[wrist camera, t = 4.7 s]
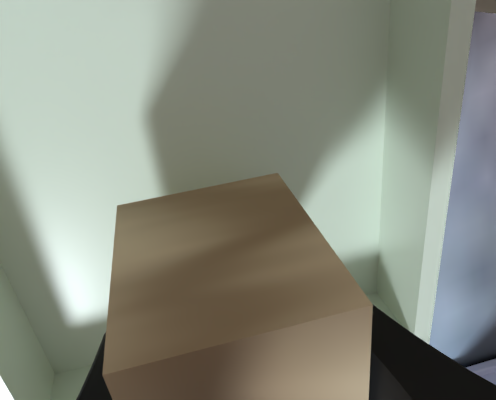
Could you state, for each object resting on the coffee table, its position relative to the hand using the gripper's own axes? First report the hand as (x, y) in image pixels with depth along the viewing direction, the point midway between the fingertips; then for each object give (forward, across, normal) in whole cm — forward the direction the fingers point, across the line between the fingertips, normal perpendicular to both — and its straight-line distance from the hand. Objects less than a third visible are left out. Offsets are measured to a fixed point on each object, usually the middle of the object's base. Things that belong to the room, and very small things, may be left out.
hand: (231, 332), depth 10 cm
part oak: (+2, 0, -1) cm, 2 cm away
